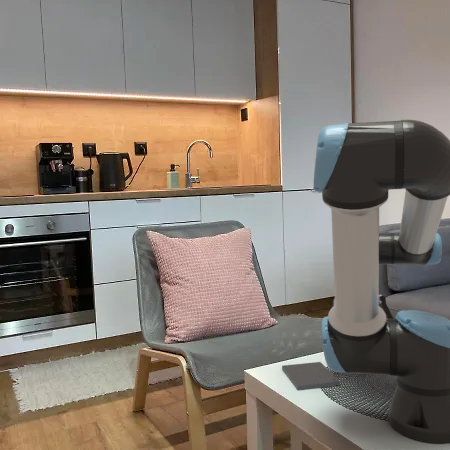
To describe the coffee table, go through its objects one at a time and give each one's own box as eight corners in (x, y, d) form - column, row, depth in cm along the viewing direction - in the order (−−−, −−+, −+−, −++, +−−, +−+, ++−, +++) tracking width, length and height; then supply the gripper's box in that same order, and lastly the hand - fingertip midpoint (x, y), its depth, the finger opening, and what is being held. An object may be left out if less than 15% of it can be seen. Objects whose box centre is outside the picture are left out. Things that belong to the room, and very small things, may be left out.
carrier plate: (340, 385, 127) (340, 381, 127) (297, 390, 125) (297, 386, 125) (320, 365, 141) (320, 361, 141) (282, 369, 139) (281, 365, 139)
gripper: (396, 272, 139) (396, 347, 141) (308, 279, 134) (310, 356, 137) (410, 278, 131) (410, 357, 134) (318, 285, 127) (320, 367, 129)
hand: (359, 357), depth 135 cm, fingers open, 13 cm apart
